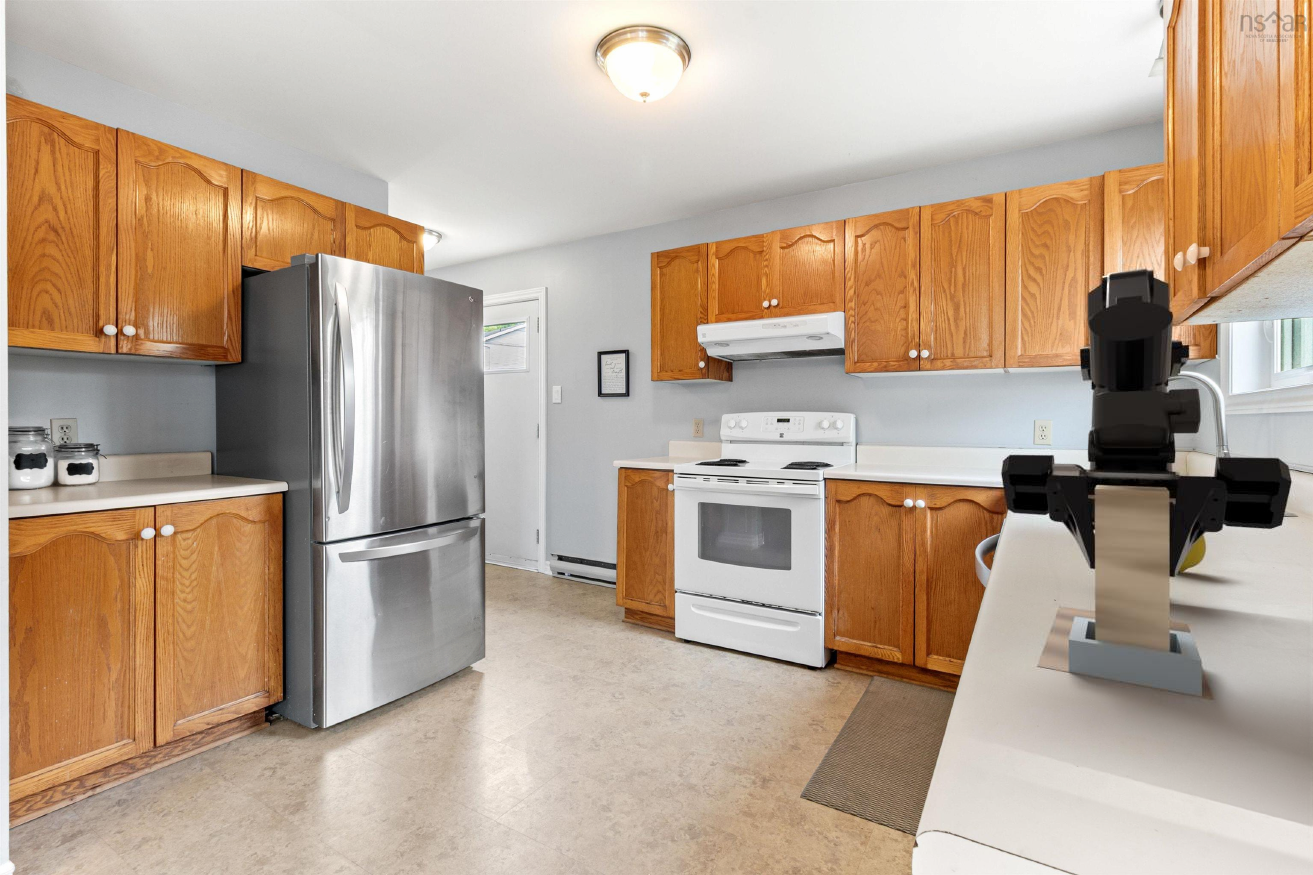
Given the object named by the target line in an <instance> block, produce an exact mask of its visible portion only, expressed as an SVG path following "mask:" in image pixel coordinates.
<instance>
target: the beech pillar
mask: <svg viewBox="0 0 1313 875" xmlns="http://www.w3.org/2000/svg"><path fill="white" fill-rule="evenodd" d="M1094 533H1095V569H1094V593H1095V594H1094V596H1095V597H1094V603H1095V604H1094V605H1095V606H1094V607H1095V610H1094V611H1095V640H1097V641H1103V642H1109V643H1115V644H1122V645H1128V646H1134V647H1141V648H1147V649H1153V650H1159V651H1166V652H1170V619H1171V618H1170V614H1171V612H1170V609H1171V608H1170V600H1171V598H1170V585H1171V584H1170V577H1169V491H1168V490H1167V488H1164V487H1136V486H1108V485H1097V486H1096V488H1095V530H1094Z"/></svg>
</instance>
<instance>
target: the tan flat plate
mask: <svg viewBox="0 0 1313 875" xmlns="http://www.w3.org/2000/svg"><path fill="white" fill-rule="evenodd" d="M1075 617H1082V618H1089V619H1095V610H1089V609H1082V608H1075V607H1074V608H1073V607H1067V606H1061V605H1060V606H1059V607H1058V609H1057V611H1056V615H1055V617H1054V619H1053V623H1052V626H1051V628H1050V631H1049V632H1048V636H1047V638H1046V641H1045V645H1044V646H1043V649H1042V651H1041V655H1040V656H1039V657H1040V658H1039V660H1038V662H1037V667H1038V668H1041V669H1048V670H1053V671H1058V672H1063V673H1068V674H1075V675H1079V676H1085V677H1091V678H1096V679H1101V680H1105V681H1110V682H1116V683H1117V682H1118V683H1123V684H1127V685H1133V686H1137V687H1141V688H1142V687H1143V688H1148V689H1154V690H1157V691H1158V690H1160V691H1164V692H1168V693H1169V692H1170V693H1175V694H1180V695H1184V696H1185V695H1186V696H1190V697H1196V698H1201V699H1206V700H1212V701H1214V697H1213V695H1212V691H1211V688H1210V685H1209V683H1208V679H1207V676H1206V674H1205V672H1204V671H1205V670H1204V668H1203V667H1202V697H1201V696H1196V695H1191V694H1185V693H1180V692H1175V691H1169V690H1164V689H1159V688H1153V687H1148V686H1143V685H1137V684H1132V683H1127V682H1121V681H1116V680H1111V679H1105V678H1100V677H1095V676H1090V675H1084V674H1079V673H1074V672H1069V636H1070V632H1071V629H1072V625H1073V621H1074V618H1075ZM1170 630H1173V631H1180V632H1187V633H1191V630H1190V628H1189V624H1188V623H1186V622H1185V623H1184V622H1177V621H1172V620H1171V621H1170Z"/></svg>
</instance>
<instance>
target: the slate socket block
mask: <svg viewBox="0 0 1313 875" xmlns="http://www.w3.org/2000/svg"><path fill="white" fill-rule="evenodd" d="M1202 664H1203V662H1202V658H1201V656H1200V652H1199V650H1198V646H1197V645H1196V641H1195V638H1194V635H1193V633H1192V632H1190V633H1187V632H1180V631H1173V630H1170V652H1166V651H1159V650H1153V649H1147V648H1141V647H1134V646H1128V645H1122V644H1115V643H1109V642H1103V641H1097V640H1095V619H1089V618H1082V617H1075V618H1074V621H1073V625H1072V629H1071V632H1070V636H1069V672H1074V673H1079V674H1084V675H1090V676H1095V677H1100V678H1105V679H1111V680H1116V681H1121V682H1127V683H1132V684H1137V685H1143V686H1148V687H1153V688H1159V689H1164V690H1169V691H1175V692H1180V693H1185V694H1191V695H1196V696H1201V697H1202V668H1203V666H1202ZM1079 674H1078V675H1079ZM1084 675H1083V676H1084ZM1100 678H1099V679H1100ZM1105 679H1104V680H1105ZM1116 681H1115V682H1116ZM1121 682H1120V683H1121ZM1132 684H1131V685H1132ZM1137 685H1136V686H1137ZM1153 688H1152V689H1153ZM1169 691H1168V692H1169ZM1185 694H1184V695H1185ZM1201 697H1200V698H1201Z"/></svg>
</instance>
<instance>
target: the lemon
mask: <svg viewBox="0 0 1313 875" xmlns="http://www.w3.org/2000/svg"><path fill="white" fill-rule="evenodd" d="M1204 535H1205V534H1204ZM1204 535H1203V536H1202V537H1201V538H1200V539H1199V540H1198V541H1197V542H1196V543H1195V544H1194V545H1193V546H1192V548H1191V549H1190V551H1189V552H1188V554H1187V556H1186V558H1185V559H1184V561H1183V563H1182V565H1181V567H1180V569H1179V570H1178V571H1179V572H1178V573H1184V572H1185V571H1187V570H1188V569H1190V568H1194V567H1196V566H1198V565H1200V563H1201V562H1202V561H1203V560H1204V558H1205V555H1206V550H1207V544H1206V538H1205V536H1204Z"/></svg>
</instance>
